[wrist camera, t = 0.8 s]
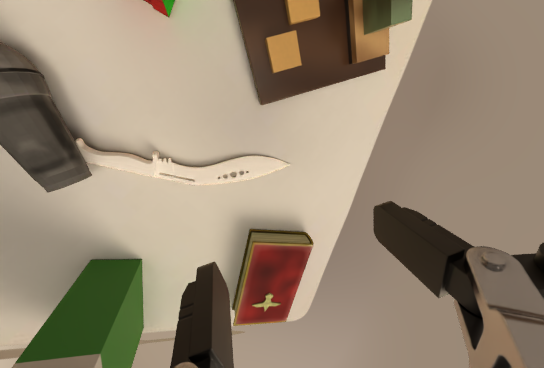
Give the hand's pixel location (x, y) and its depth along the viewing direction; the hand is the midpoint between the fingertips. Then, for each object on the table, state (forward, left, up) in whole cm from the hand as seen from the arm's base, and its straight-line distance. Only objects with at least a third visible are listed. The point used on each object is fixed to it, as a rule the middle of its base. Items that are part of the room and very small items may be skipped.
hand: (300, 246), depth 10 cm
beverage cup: (-2, -22, -21) cm, 30 cm away
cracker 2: (-14, +12, -24) cm, 31 cm away
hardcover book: (+29, -3, -26) cm, 39 cm away
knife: (+1, -8, -26) cm, 27 cm away
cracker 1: (-9, +9, -24) cm, 28 cm away
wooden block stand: (-12, +20, -24) cm, 34 cm away
